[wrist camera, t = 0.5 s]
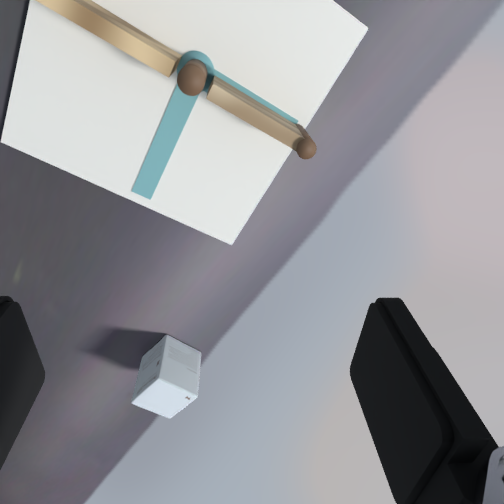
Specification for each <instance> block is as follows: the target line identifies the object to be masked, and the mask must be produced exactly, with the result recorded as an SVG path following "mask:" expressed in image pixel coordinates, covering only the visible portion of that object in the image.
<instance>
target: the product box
mask: <svg viewBox="0 0 504 504" xmlns="http://www.w3.org/2000/svg"><path fill="white" fill-rule="evenodd" d="M200 362H201V352H200V351H198V350H196V349H194V348H192V347H190V346H188V345H186V344H184V343H183V342H181V341H179V340H177V339H175V338H173V337H171V336H169V335H165V336H164V337H163V338H162V339H161V340H160V341H159V342H158V343H157V344H156V345H155V346H154V347H153V348H152V349H151V350H149V351H148V352H147V353H146V354H145V355H143V357H142V359H141V364H140V368H139V372H138V377H137V381H136V385H135V389H134V393H133V397H132V401H131V403H132V404H134V405H136V406H139V407H141V408H144V409H146V410H149V411H152V412H154V413H157V414H159V415H162V416H164V417H167V418H172V417H173V416H174V415H175V414H177V413H178V412H179V411H181V410H182V409H184V408H185V407H186V406H187V405H188V404H189V403H191V402H192V401H193V400H195V399H196V398H197V397H198V387H199V375H200Z"/></svg>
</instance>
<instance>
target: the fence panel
mask: <svg viewBox="0 0 504 504" xmlns="http://www.w3.org/2000/svg"><path fill="white" fill-rule="evenodd" d="M36 1H38V2H39V3H41V4H43V5H44V6H46V7H48V8H50V9H51V10H53V11H55V12H56V13H58V14H60V15H62V16H63V17H65V18H67V19H69V20H70V21H72V22H74V23H75V24H77V25H79V26H81V27H82V28H84V29H86V30H87V31H89V32H91V33H93V34H94V35H96V36H98V37H100V38H101V39H103V40H105V41H106V42H108V43H110V44H112V45H113V46H115V47H117V48H118V49H120V50H122V51H124V52H125V53H127V54H129V55H131V56H132V57H134V58H136V59H137V60H139V61H141V62H143V63H144V64H146V65H148V66H149V67H151V68H153V69H155V70H156V71H158V72H160V73H162V74H163V75H165V76H167V77H168V78H169V77H170V76H171V75H172V74H173V73H174V72H175V70H176V69H177V67H178V64H179V62H180V59H181V57H182V55H180V54H179V53H177V52H175V51H174V50H172V49H170V48H169V47H167V46H165V45H164V44H162V43H160V42H159V41H157V40H156V39H154V38H152V37H151V36H149V35H147V34H146V33H144V32H142V31H141V30H139V29H138V28H136V27H134V26H133V25H131V24H129V23H128V22H126V21H124V20H123V19H121V18H119V17H118V16H116V15H115V14H113V13H111V12H110V11H108V10H106V9H105V8H103V7H101V6H100V5H98V4H97V3H95V2H93V1H92V0H36Z"/></svg>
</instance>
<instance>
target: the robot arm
mask: <svg viewBox="0 0 504 504" xmlns="http://www.w3.org/2000/svg"><path fill="white" fill-rule="evenodd" d="M350 376H351V380H352V383H353V385H354V388H355V391H356V394H357V397H358V399H359V402H360V405H361V408H362V410H363V413H364V416H365V419H366V422H367V425H368V427H369V430H370V433H371V436H372V439H373V441H374V444H375V447H376V450H377V453H378V455H379V458H380V461H381V464H382V466H383V469H384V472H385V475H386V478H387V480H388V483H389V486H390V489H391V492H392V494H393V497H394V499H395V501H396V503H397V504H504V446H503V447H498V445H497V444H496V442H495V441H494V439H493V437H492V436H491V434H490V433H489V431H488V430H487V428H486V427H485V425H484V424H483V422H482V420H481V419H480V417H479V416H478V414H477V413H476V411H475V410H474V408H473V407H472V405H471V403H470V402H469V401H468V399H467V397H466V396H465V394H464V393H463V391H462V390H461V388H460V387H459V385H458V384H457V382H456V380H455V379H454V377H453V376H452V374H451V373H450V371H449V369H448V368H447V366H446V365H445V363H444V362H443V360H442V359H441V357H440V356H439V354H438V353H437V352H436V350H435V349H434V348H433V347H432V346H431V344H430V343H429V341H428V340H427V338H426V337H425V335H424V333H423V332H422V331H421V329H420V327H419V326H418V324H417V322H416V321H415V319H414V318H413V316H412V315H411V313H410V312H409V310H408V309H407V307H406V305H405V304H404V302H403V301H402V300H401V299H400V298H378V299H377V300H376V302H375V303H371V304H370V306H369V309H368V312H367V315H366V318H365V321H364V325H363V328H362V331H361V334H360V337H359V340H358V343H357V347H356V350H355V353H354V356H353V359H352V362H351V366H350ZM44 379H45V370H44V367H43V365H42V362H41V359H40V357H39V354H38V352H37V349H36V346H35V344H34V341H33V338H32V336H31V333H30V331H29V328H28V325H27V323H26V320H25V317H24V315H23V312H22V309H21V307H20V305H19V303H17V302H14V301H13V300H12V298H11V297H9V296H0V470H1V468H2V466H3V464H4V462H5V460H6V458H7V456H8V454H9V452H10V449H11V447H12V445H13V443H14V441H15V439H16V437H17V435H18V433H19V431H20V429H21V427H22V425H23V423H24V421H25V419H26V417H27V415H28V413H29V411H30V409H31V407H32V405H33V403H34V401H35V399H36V397H37V395H38V393H39V391H40V389H41V387H42V385H43V383H44Z"/></svg>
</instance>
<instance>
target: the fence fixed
mask: <svg viewBox="0 0 504 504" xmlns="http://www.w3.org/2000/svg"><path fill="white" fill-rule="evenodd" d="M207 74H208V72H207V68H206V65H205V64H204V63H203V62H202V61H201V60H198V59H191V60H189V61H188V62H187V63H186V64H185V65H184V67H183V68H182V69H181V70H180V71H179V73H178V76H177V84H178V87H179V89H180V90H181V91H182V92H183V93H184V94H186V95H188V96H196V95H198V94H199V93H201V91H202V90H203V88H204V85H205V82H206V79H207ZM206 99H207V100H209V101H211V102H212V103H214V104H216V105H218V106H219V107H221V108H223V109H224V110H226V111H228V112H230V113H231V114H233V115H235V116H237V117H238V118H240V119H242V120H243V121H245V122H247V123H249V124H250V125H252V126H254V127H255V128H257V129H259V130H261V131H262V132H264V133H266V134H268V135H269V136H271V137H273V138H274V139H276V140H278V141H280V142H281V143H283V144H285V145H286V146H288V147H290V148H292V149H293V150H295V151H296V152H297V153H298V155H299V157H301V158H302V159H309V158H311V157H313V156H314V155H315V153H316V145H315V143H314V142H313V140H312V139H311V137H310V136H309V135H308V133H307V132H306V130H305V129H304V128H303V126H301V125H300V124H294V123H292V122H291V121H289V120H287V119H286V118H284V117H282V116H281V115H279V114H278V113H276V112H274V111H273V110H271V109H269V108H268V107H266V106H264V105H263V104H261V103H259V102H258V101H256V100H255V99H253V98H251V97H250V96H248V95H246V94H245V93H243V92H241V91H240V90H238V89H237V88H235V87H233V86H232V85H230V84H228V83H227V82H225V81H223V80H222V79H220V78H218V77H217V76H214V78H213V80H212V82H211V84H210V86H209V88H208V93H207V97H206Z"/></svg>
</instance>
